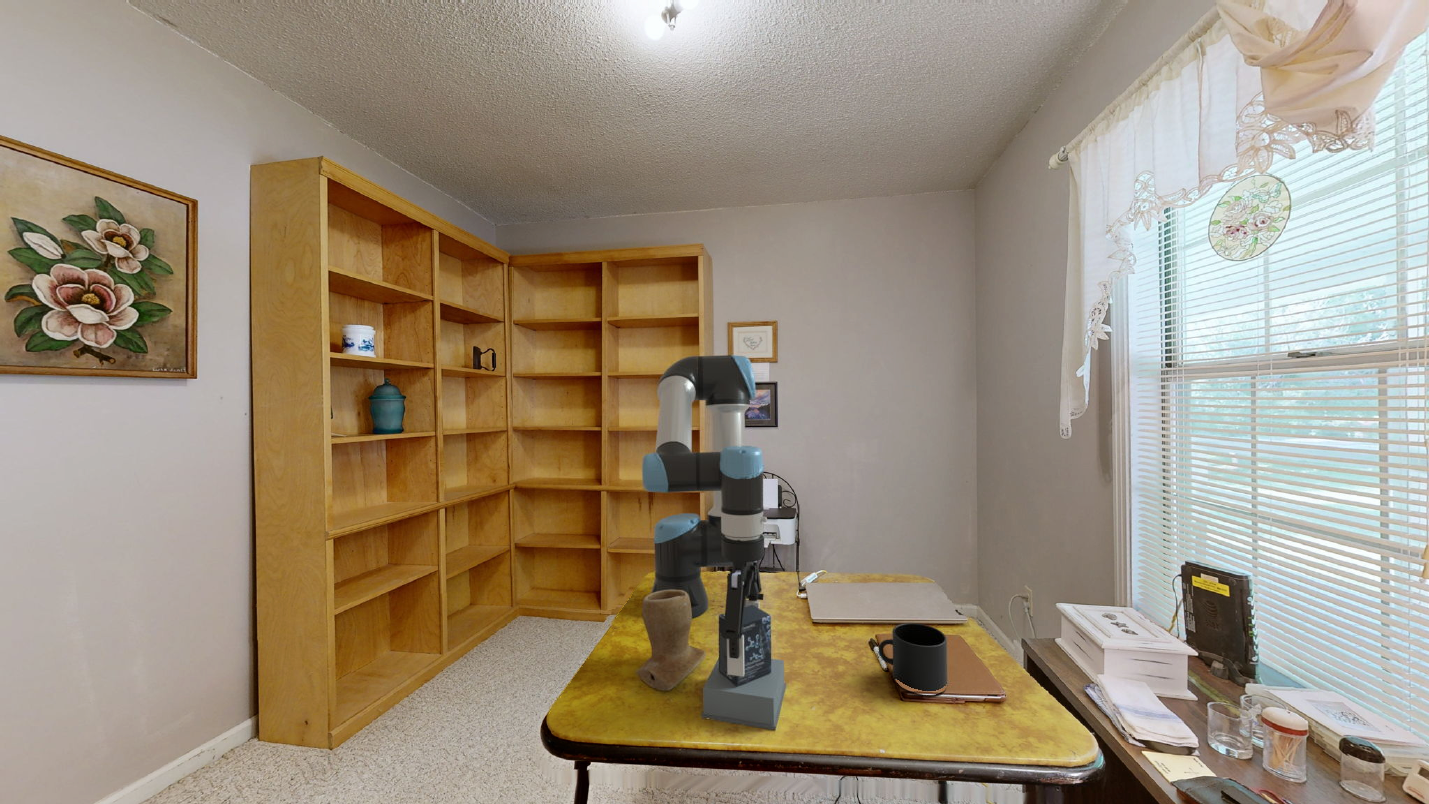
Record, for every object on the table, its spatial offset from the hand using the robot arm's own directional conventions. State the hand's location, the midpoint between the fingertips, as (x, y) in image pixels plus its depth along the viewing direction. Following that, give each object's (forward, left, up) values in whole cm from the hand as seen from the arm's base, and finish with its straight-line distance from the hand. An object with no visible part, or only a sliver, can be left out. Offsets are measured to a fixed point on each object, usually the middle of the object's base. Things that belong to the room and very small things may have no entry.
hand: (744, 653), depth 89 cm
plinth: (0, 0, -9) cm, 9 cm away
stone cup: (-6, -17, -9) cm, 20 cm away
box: (0, 0, -4) cm, 4 cm away
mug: (-14, +29, -9) cm, 33 cm away
